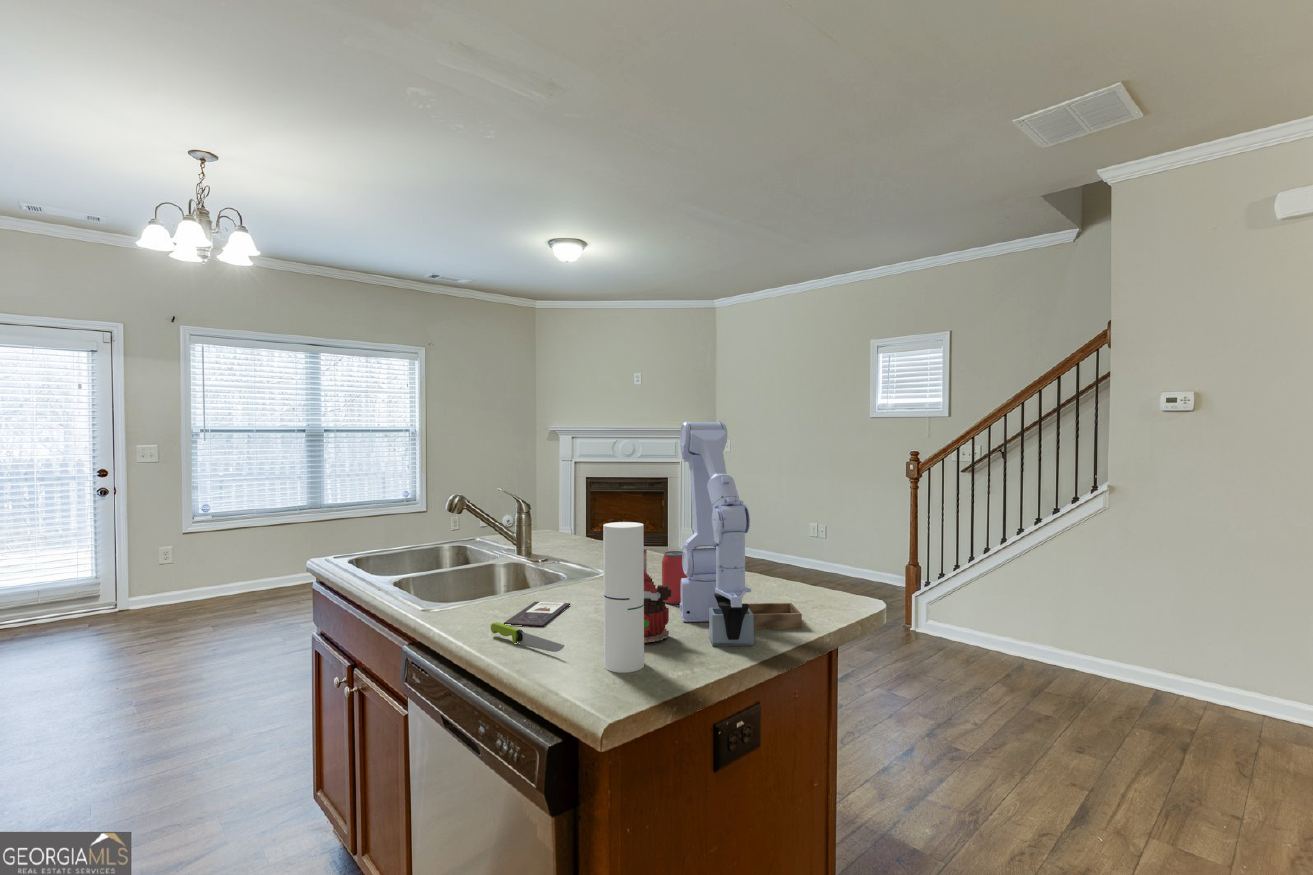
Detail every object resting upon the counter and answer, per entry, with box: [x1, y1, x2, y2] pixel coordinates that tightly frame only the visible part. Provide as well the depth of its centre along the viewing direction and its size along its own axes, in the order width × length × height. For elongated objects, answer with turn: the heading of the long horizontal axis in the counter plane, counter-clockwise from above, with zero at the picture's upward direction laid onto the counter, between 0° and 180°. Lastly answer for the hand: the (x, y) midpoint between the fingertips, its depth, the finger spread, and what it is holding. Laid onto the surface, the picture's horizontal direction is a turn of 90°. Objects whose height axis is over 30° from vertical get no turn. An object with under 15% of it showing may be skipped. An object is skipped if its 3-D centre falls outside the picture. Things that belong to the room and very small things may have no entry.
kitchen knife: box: [490, 622, 566, 653], centre depth 122 cm, size 22×1×3 cm, turn 50°
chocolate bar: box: [503, 601, 571, 628], centre depth 144 cm, size 9×1×18 cm
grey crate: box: [708, 608, 755, 647], centre depth 125 cm, size 8×5×6 cm
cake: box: [644, 548, 671, 644], centre depth 127 cm, size 11×9×18 cm
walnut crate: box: [742, 602, 803, 631], centre depth 137 cm, size 11×9×4 cm
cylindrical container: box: [602, 521, 645, 674], centre depth 112 cm, size 7×7×25 cm
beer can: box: [661, 550, 689, 605], centre depth 156 cm, size 7×7×12 cm
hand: (730, 634), depth 125 cm, fingers closed on grey crate, 5 cm apart
